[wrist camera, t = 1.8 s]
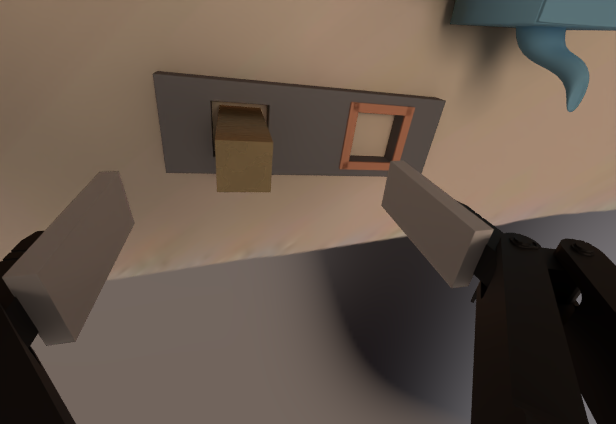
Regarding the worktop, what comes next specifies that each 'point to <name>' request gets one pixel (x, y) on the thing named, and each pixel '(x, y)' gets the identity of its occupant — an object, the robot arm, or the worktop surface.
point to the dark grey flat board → (292, 124)
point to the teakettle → (544, 32)
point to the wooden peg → (243, 150)
